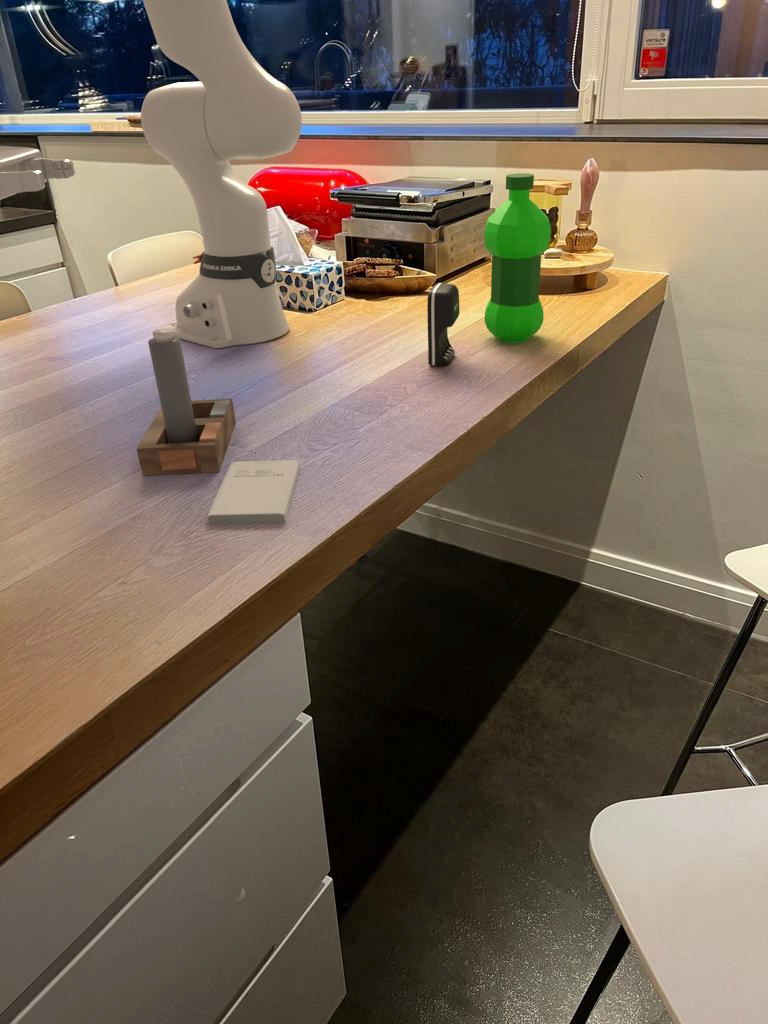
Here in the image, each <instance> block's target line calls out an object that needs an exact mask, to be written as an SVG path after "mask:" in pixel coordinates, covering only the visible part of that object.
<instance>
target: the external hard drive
mask: <svg viewBox="0 0 768 1024" xmlns="http://www.w3.org/2000/svg"><path fill="white" fill-rule="evenodd" d="M300 469H301V464H300V461H299V460H296V459H294V460H293V459H289V460H287V459H285V460H250V461H248V460H247V461H246V460H245V461H242V460H241V461H233V462H231V463H230V464H229V466H228V469H227V471H226V473H225V475H224V478H223V480H222V482H221V484H220V487H219V489H218V491H217V493H216V494H215V495H216V496H215V498H214V500H213V501H212V504H211V506H210V509H209V512H208V514H207V516H206V519H207V523H208V524H209V525H210V524H212V525H213V524H217V525H218V524H253V523H254V524H255V523H257V524H259V523H260V524H261V523H262V524H263V523H264V524H265V523H286V522H287V517H288V515H289V511H290V506H291V503H292V499H293V496H294V492H295V487H296V485H297V480H298V477H299V472H300Z"/></svg>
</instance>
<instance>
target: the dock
mask: <svg viewBox="0 0 768 1024" xmlns="http://www.w3.org/2000/svg"><path fill="white" fill-rule="evenodd" d="M191 402H192V408H193V413H194V419H195V424H196V430H197V436H198V441H199V442H191V443H170V444H168V439H167V434H166V429H165V424H164V419H163V414H162V409H161V406H160V407H159V409H158V411H157V412H156V414H155V416H154V418H153V419H152V421H151V423H150V425H149V427H148V428H147V430H146V432H145V433H144V435H143V437H142V439H141V440H140V442H139V444H138V445H137V447H136V451H137V456H138V461H139V466H140V470H141V474H142V475H141V476H144V477H145V476H164V475H165V476H166V475H182V474H183V475H186V474H203V473H220V471H221V468H222V465H223V462H224V458H225V456H226V453H227V450H228V447H229V444H230V442H231V438H232V435H233V432H234V430H235V427H236V424H237V422H236V421H237V420H236V416H235V410H234V402H233V398H220V399H217V398H216V399H200V400H191Z"/></svg>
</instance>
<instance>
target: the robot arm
mask: <svg viewBox="0 0 768 1024" xmlns="http://www.w3.org/2000/svg"><path fill="white" fill-rule="evenodd" d="M142 2H143V4H144V8H145V10H146V11H145V12H146V15H147V17H148V20H149V23H150V26H151V28H152V31H153V35H154V39H155V40H156V44H157V46H158V47H159V48H160V50H161V52H162V53H163V54H164V55H165V56H166V57H167V58H168V59H169V60H170V61H172V62H173V63H176V64H178V65H179V66H181V67H183V68H185V69H186V70H188V71H189V72H191V74H193V75H194V76H195V78H197V80H199V81H184V82H179V81H178V82H175V83H171V84H167V85H163V86H160V87H157V88H154V89H152V90H150V91H149V92H148V93H147V94H146V95H145V98H144V100H143V101H142V102H143V103H142V106H141V111H140V123H141V129H142V132H143V136H144V138H145V139H146V141H147V143H148V144H149V146H150V148H151V149H152V150H153V151H154V152H155V153H157V154H158V155H159V156H160V157H163V159H164V160H166V161H167V162H168V163H169V165H171V166H172V168H173V169H175V171H176V172H177V173H178V174H179V176H180V178H181V179H182V180H183V182H184V184H185V185H186V187H187V189H188V190H189V193H190V195H191V198H192V200H193V202H194V205H195V209H196V212H197V219H198V221H199V222H198V223H199V227H200V232H201V238H202V244H203V249H204V251H203V252H202V253H201V254H198V255H195V256H193V257H192V259H197V260H195V261H193V262H192V263H193V265H196V264H199V263H200V265H199V274H198V275H197V276H196V277H195V279H193V280H192V282H190V283H189V284H188V285H187V287H185V289H183V290H182V291H181V292H180V293H179V295H178V296H177V298H176V301H175V318H176V319H175V320H173V321H172V322H170V323H169V324H167V325H166V326H165V328H169V329H172V330H173V335H175V336H178V337H180V340H185V341H188V342H192V343H195V344H198V345H202V346H206V347H210V348H213V349H221V348H222V349H223V348H228V347H232V346H237V345H249V344H256V343H263V342H267V341H270V340H275V339H277V338H280V337H282V336H283V335H285V334H287V333H288V331H289V330H290V326H289V323H288V321H287V319H286V318H287V317H286V316H285V313H284V310H283V306H282V302H281V299H280V294H279V291H278V284H277V280H276V278H277V266H276V265H277V264H276V263H277V262H276V258H275V249H274V247H273V246H272V245H271V236H270V226H269V219H268V211H267V210H268V209H267V203H266V201H265V199H264V197H263V196H262V194H261V193H260V192H259V191H258V190H257V189H256V188H254V187H253V186H251V185H249V184H247V183H245V182H244V181H242V180H241V179H240V178H239V177H238V176H237V175H236V173H235V171H234V170H233V168H232V167H233V166H232V165H231V163H230V162H231V160H264V159H270V158H274V157H277V156H278V157H279V156H281V155H286V154H288V153H290V152H292V151H293V149H294V148H295V146H296V145H297V143H298V141H299V138H300V135H301V131H302V125H303V123H302V121H303V120H302V113H301V112H302V111H301V107H300V105H299V102H298V100H297V98H296V96H295V95H294V93H293V92H292V90H291V89H290V88H289V87H288V86H287V85H286V84H284V83H283V82H281V81H279V80H278V79H276V78H275V77H274V76H272V75H271V74H270V73H268V72H267V71H266V69H265V68H263V67H262V66H261V65H260V63H259V62H258V61H257V60H256V58H255V57H253V55H252V54H251V52H250V51H249V50H248V48H247V47H246V45H245V44H244V42H243V40H242V38H241V36H240V34H239V32H238V30H237V27H236V25H235V23H234V20H233V17H232V13H231V11H230V8H229V5H228V1H227V0H142ZM75 175H76V171H75V167H74V163H73V161H72V160H71V159H70V158H69V159H66V158H65V159H64V158H63V159H55V158H47V157H44V156H43V154H42V152H41V150H40V149H37V148H33V147H27V146H26V147H24V146H9V145H7V146H6V145H0V201H2V200H3V199H6V198H8V197H11V196H14V195H16V194H19V193H26V192H38V191H39V192H40V191H41V190H43V189H44V188H45V187H46V182H47V181H48V180H51V179H57V180H58V179H70V178H73V177H74V176H75Z"/></svg>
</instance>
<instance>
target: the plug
mask: <svg viewBox="0 0 768 1024" xmlns="http://www.w3.org/2000/svg"><path fill="white" fill-rule="evenodd" d="M181 340H182V339H180V337H178V336H175V335H173V330H172V329H169V328H166V327H164V328H163V327H162V328H158V329H155V330H153V331H152V338H150V339H149V340H148V341H147V343H148V348H149V352H150V353H149V354H150V358H151V363H152V368H153V372H154V378H155V382H156V384H155V385H156V389H157V393H158V398H159V403H160V407H161V409H162V414H163V419H164V424H165V429H166V434H167V439H168V444H170V443H191V442H199V441H198V436H197V430H196V424H195V419H194V413H193V408H192V402H191V401H192V397H191V392H190V385H189V381H188V375H187V370H186V364H185V357H184V352H183V347H182V343H181V342H182V341H181Z"/></svg>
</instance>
